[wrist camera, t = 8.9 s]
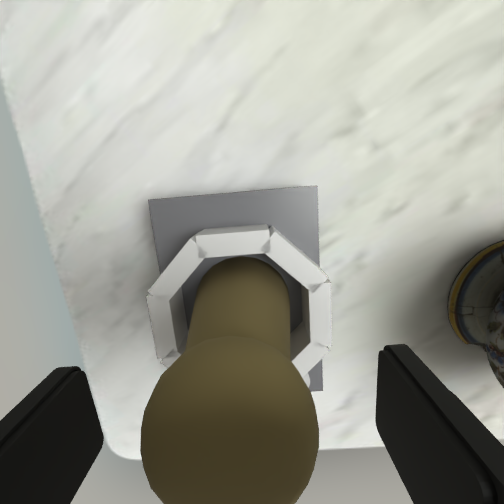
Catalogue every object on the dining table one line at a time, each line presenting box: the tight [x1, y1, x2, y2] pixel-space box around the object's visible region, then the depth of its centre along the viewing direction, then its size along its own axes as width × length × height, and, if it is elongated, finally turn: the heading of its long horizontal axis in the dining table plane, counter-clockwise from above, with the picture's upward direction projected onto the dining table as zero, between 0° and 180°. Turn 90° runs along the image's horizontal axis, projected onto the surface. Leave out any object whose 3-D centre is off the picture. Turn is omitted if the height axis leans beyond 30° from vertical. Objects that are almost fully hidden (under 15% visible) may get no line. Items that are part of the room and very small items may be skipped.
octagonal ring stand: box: [146, 186, 332, 392], centre depth 18 cm, size 14×10×6 cm
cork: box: [140, 256, 319, 504], centre depth 12 cm, size 6×6×11 cm
